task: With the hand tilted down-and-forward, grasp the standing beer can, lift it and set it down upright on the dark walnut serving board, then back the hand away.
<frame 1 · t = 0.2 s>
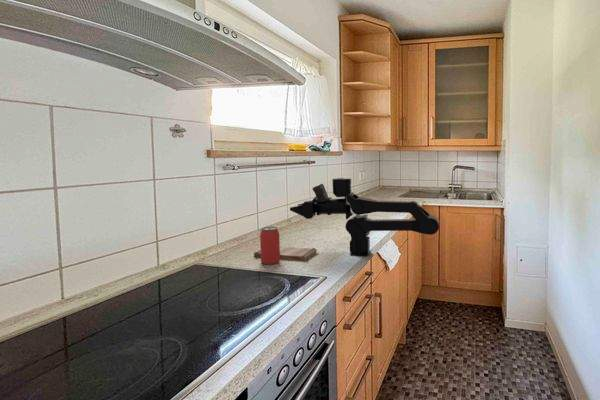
hand: (294, 207, 161), 17 cm above the countertop, tool horizontal, fingers open, 9 cm apart
beer can: (270, 262, 146), on the countertop
walnut board: (285, 254, 155), on the countertop
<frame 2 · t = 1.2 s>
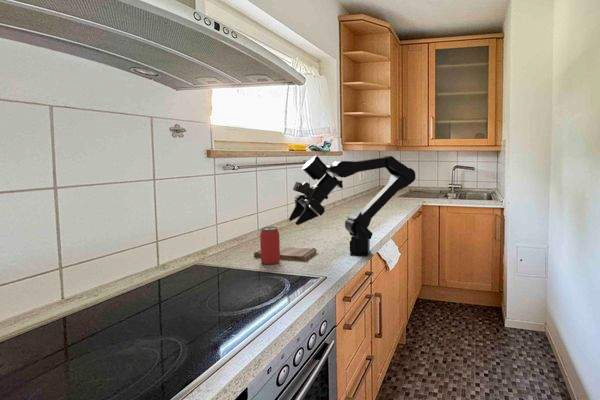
hand: (293, 222, 146), 13 cm above the countertop, tool tilted 45°, fingers open, 9 cm apart
nothing on the countertop moved.
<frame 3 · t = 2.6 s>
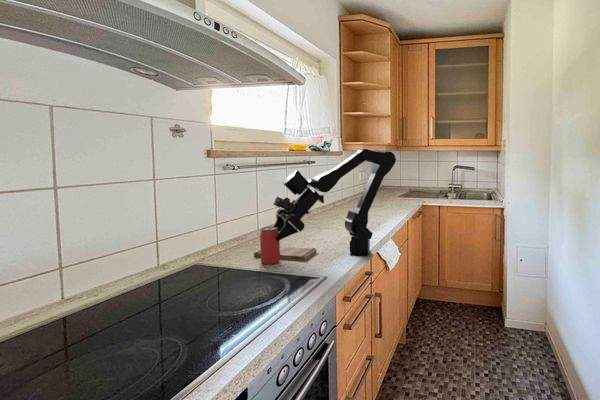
hand: (273, 237, 145), 9 cm above the countertop, tool tilted 45°, fingers open, 9 cm apart
nothing on the countertop moved.
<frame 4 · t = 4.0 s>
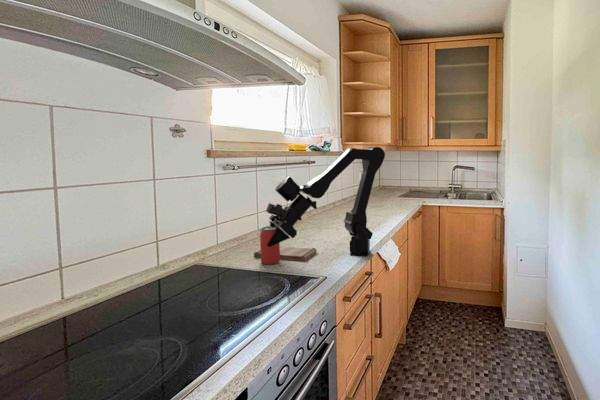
hand: (266, 243, 144), 7 cm above the countertop, tool tilted 45°, fingers closed on beer can, 7 cm apart
beer can: (270, 262, 146), on the countertop, touching gripper
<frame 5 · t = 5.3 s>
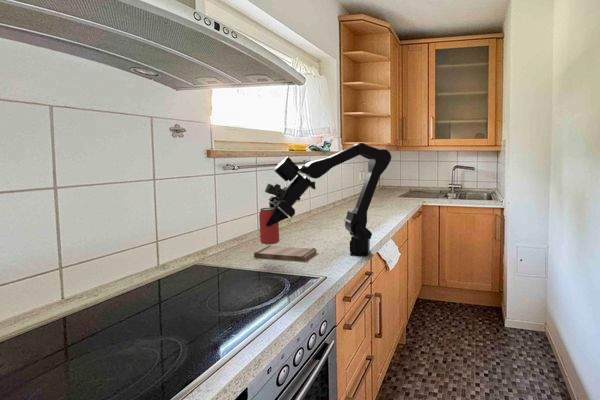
hand: (265, 224, 145), 13 cm above the countertop, tool tilted 45°, fingers closed on beer can, 7 cm apart
beer can: (269, 243, 146), point 6 cm above the countertop, touching gripper
when the fingers open (9 cm above the countertop, at t = 7.1 s): beer can stays where it is, resting on walnut board.
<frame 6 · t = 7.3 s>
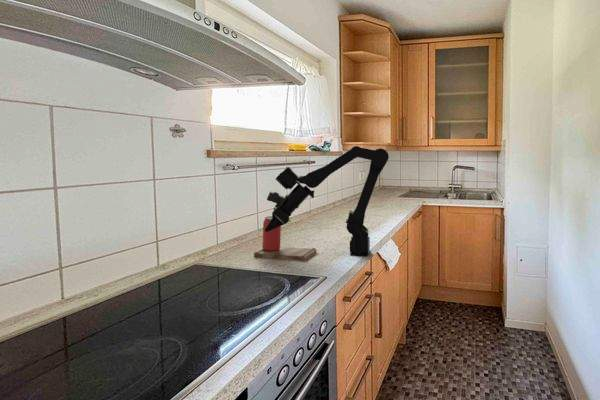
hand: (266, 228, 156), 10 cm above the countertop, tool tilted 45°, fingers open, 8 cm apart
beer can: (271, 249, 157), point 2 cm above the countertop, touching walnut board
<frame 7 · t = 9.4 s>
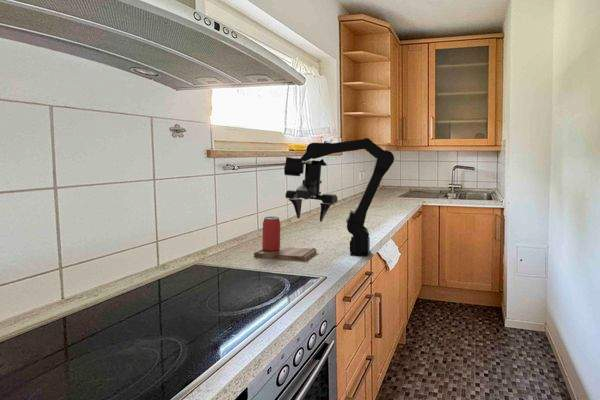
hand: (309, 219, 154), 13 cm above the countertop, tool pointing down, fingers open, 9 cm apart
nothing on the countertop moved.
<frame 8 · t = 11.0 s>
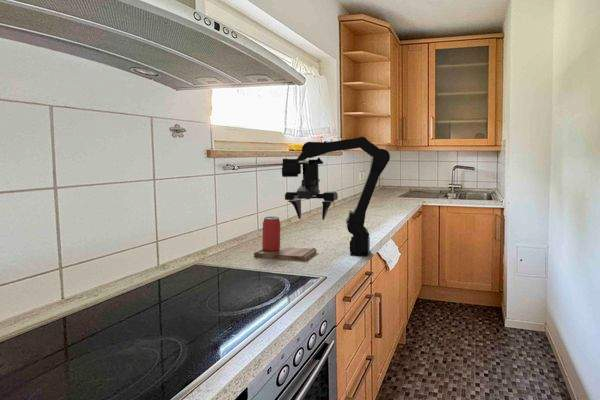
hand: (311, 219, 154), 13 cm above the countertop, tool pointing down, fingers open, 9 cm apart
nothing on the countertop moved.
at the end: beer can inside the target area on the walnut board (5.3 cm from its centre), point 1.5 cm above the walnut board's base; beer can tilted 3°; the gripper is holding nothing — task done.
